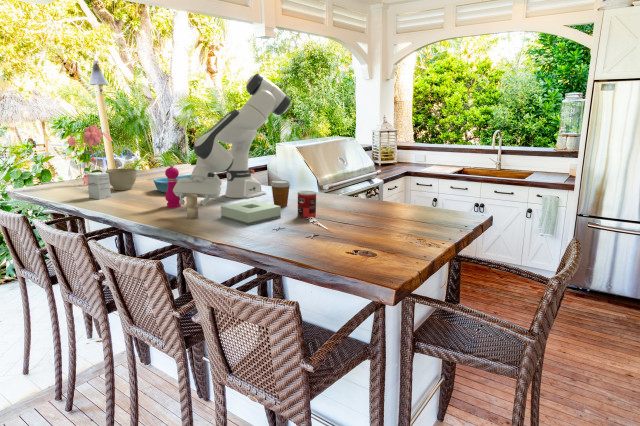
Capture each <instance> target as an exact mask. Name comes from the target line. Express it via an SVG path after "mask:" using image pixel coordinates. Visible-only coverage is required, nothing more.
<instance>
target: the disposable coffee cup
mask: <svg viewBox="0 0 640 426" xmlns="http://www.w3.org/2000/svg"><path fill="white" fill-rule="evenodd" d="M270 186H271V193H272V199H273V205H277V206H281V208H286V207H288V201H289V193H290V186H291V182H290V180H286V179H285V180H284V179H276V180H272V181H271V182H270ZM285 206H286V207H285Z"/></svg>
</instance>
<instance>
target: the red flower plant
mask: <svg viewBox="0 0 640 426" xmlns="http://www.w3.org/2000/svg"><path fill="white" fill-rule="evenodd" d="M83 130H84V133H83V135H82V136H83V142H84V143H86V144H84V145H82V146H80V144H78V143H77V141H76V139H75V137H73V136H70V137H69V138H68V139H67V143H68V145H69V146H70V147H71V148H73V147H74V146H75V145H77V146H78V148H83V147H86V146H89V148H90V152H91V154H92V157H91V158H90V161H88V162H86V163H83V169H84V175H83V176H82V181H83V185H86V186H87V187H88V181H87V173H86V167H85V165H87V164H88V163H90V162H92V163H95V162H97V163H98V167H99V168H98V169H99V170H101V164H100V161H97V159H96V157H95V156H94V153H93V149H92V147H96V146H99V144H101V143H102V137H103V136H104V137H105V138H106V139H107V140H108V141H111V142H113V143H114V140H113V138H111V136H109V135H108V134H107V133H105V132H102V129H101V128H99V129H98V125H96V124H94V125H90V124H89V126H88V127H84V129H83ZM73 186H75V184H74V185H73Z"/></svg>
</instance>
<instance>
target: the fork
mask: <svg viewBox="0 0 640 426" xmlns="http://www.w3.org/2000/svg"><path fill="white" fill-rule="evenodd" d="M311 218H312V217H310V219H308V221H309V222H313V221H317V219H316V217H315V218H314V217H313V218H312V219H311ZM317 224H318V225H317ZM313 225H317V226H319V225H320V226H322V227H324V228H326V229H328V227H326V226H325V225H323V224H321V223H320V222H318V223H314V224H313ZM320 226H319V227H320ZM322 227H321V228H322ZM324 228H323V229H324Z"/></svg>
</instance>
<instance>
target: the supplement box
mask: <svg viewBox="0 0 640 426" xmlns="http://www.w3.org/2000/svg"><path fill="white" fill-rule="evenodd" d="M86 175H87V181H88V186H87V188H88V189H87V190H88V197H89V199H95V200H103V199H108V198H111V184H110V182H109V173H106V172H101V171H98V172H97V171H96V172H90V173H86Z"/></svg>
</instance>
